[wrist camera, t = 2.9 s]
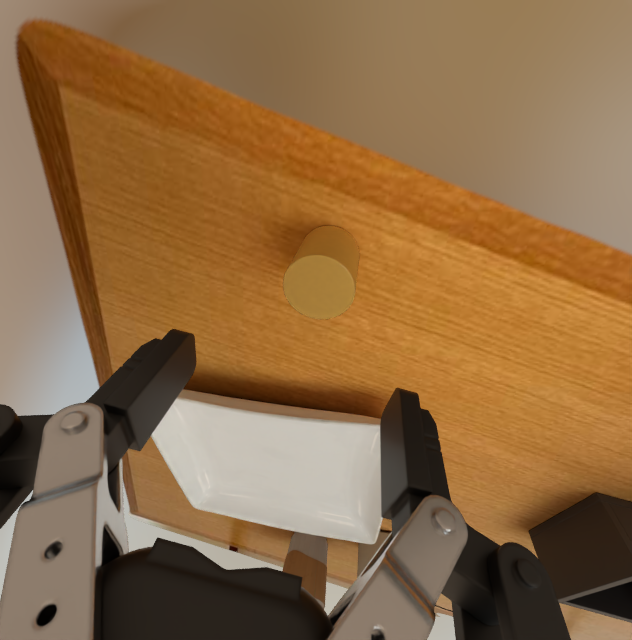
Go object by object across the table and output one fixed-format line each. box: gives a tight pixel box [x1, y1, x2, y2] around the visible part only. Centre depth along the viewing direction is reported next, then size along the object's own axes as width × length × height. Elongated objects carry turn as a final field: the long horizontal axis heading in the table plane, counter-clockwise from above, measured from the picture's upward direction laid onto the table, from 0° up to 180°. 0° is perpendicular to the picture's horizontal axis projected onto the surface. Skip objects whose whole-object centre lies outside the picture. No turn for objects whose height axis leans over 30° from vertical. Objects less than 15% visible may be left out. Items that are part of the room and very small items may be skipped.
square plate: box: [151, 389, 383, 544], centre depth 36 cm, size 27×27×4 cm
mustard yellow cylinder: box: [283, 226, 360, 319], centre depth 19 cm, size 4×4×5 cm
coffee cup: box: [282, 532, 328, 609], centre depth 46 cm, size 8×8×15 cm
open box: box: [529, 493, 632, 623], centre depth 32 cm, size 12×12×7 cm
